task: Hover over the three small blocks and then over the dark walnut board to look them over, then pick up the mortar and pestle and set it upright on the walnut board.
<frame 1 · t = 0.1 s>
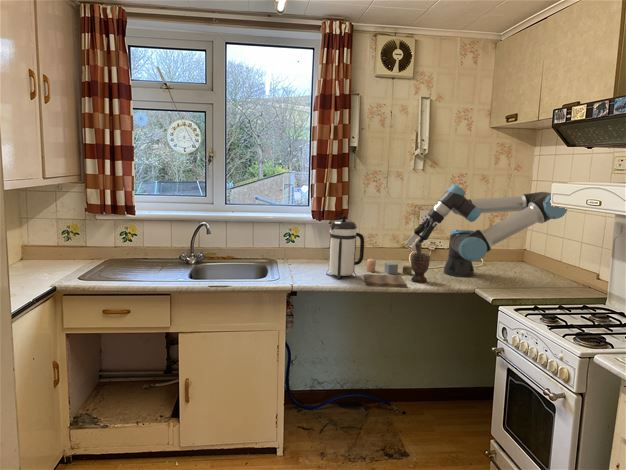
hand: (410, 247, 221), 15 cm above the worktop, tool tilted 35°, fingers open, 13 cm apart
walnut board: (384, 282, 213), on the worktop
dark oak block: (406, 274, 231), on the worktop
mortar and pestle: (419, 282, 216), on the worktop
terracotta capsule: (370, 271, 234), on the worktop
coffee press: (342, 276, 222), on the worktop
slate grey cube: (390, 273, 232), on the worktop
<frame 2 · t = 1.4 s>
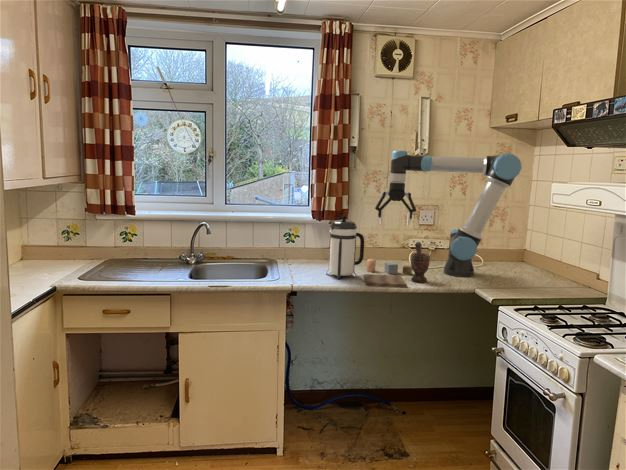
hand: (394, 224, 228), 25 cm above the worktop, tool pointing down, fingers open, 13 cm apart
nothing on the worktop moved.
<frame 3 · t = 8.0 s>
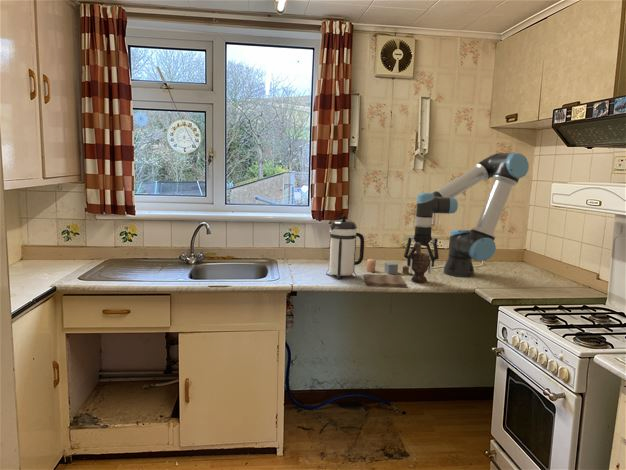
hand: (419, 273, 215), 4 cm above the worktop, tool pointing down, fingers closed on mortar and pestle, 9 cm apart
mortar and pestle: (419, 282, 216), on the worktop, touching gripper
everything else where it was.
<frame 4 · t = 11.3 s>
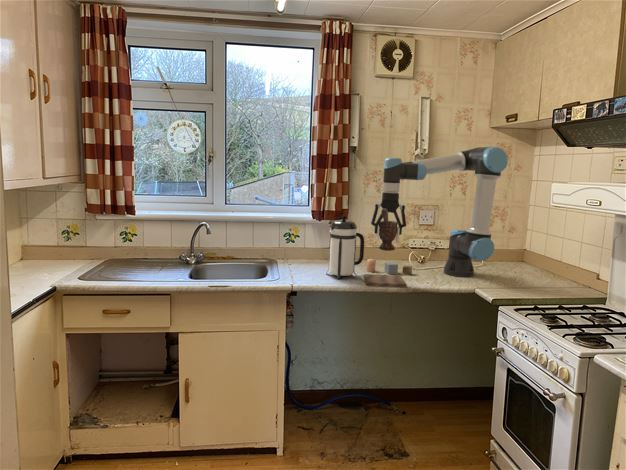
hand: (387, 241, 210), 20 cm above the worktop, tool pointing down, fingers closed on mortar and pestle, 8 cm apart
mortar and pestle: (386, 250, 211), point 15 cm above the worktop, touching gripper
everything else where it was.
when the fingers open (7 cm above the worktop, at t = 14.5 s): mortar and pestle drops 1 cm, resting on walnut board.
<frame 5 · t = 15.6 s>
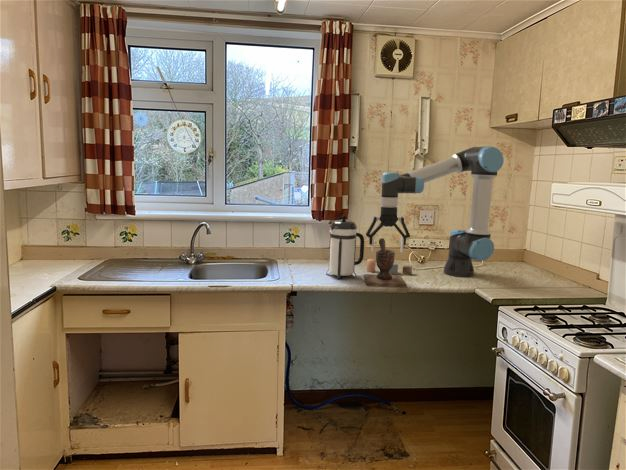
hand: (387, 251, 211), 14 cm above the worktop, tool pointing down, fingers open, 13 cm apart
mortar and pestle: (384, 279, 213), point 1 cm above the worktop, touching walnut board
everything else where it was.
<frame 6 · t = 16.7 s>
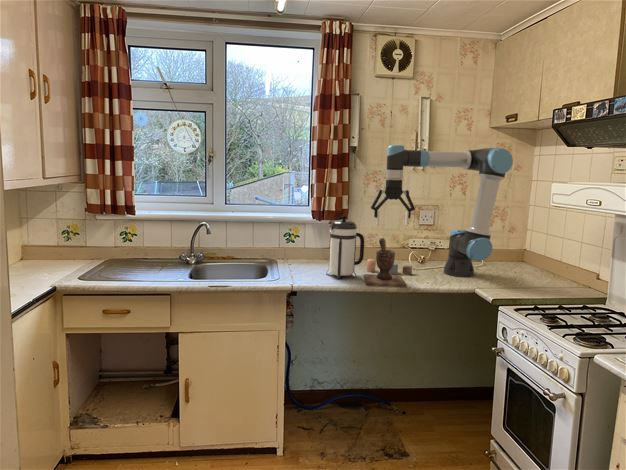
hand: (391, 225, 212), 27 cm above the worktop, tool pointing down, fingers open, 13 cm apart
nothing on the worktop moved.
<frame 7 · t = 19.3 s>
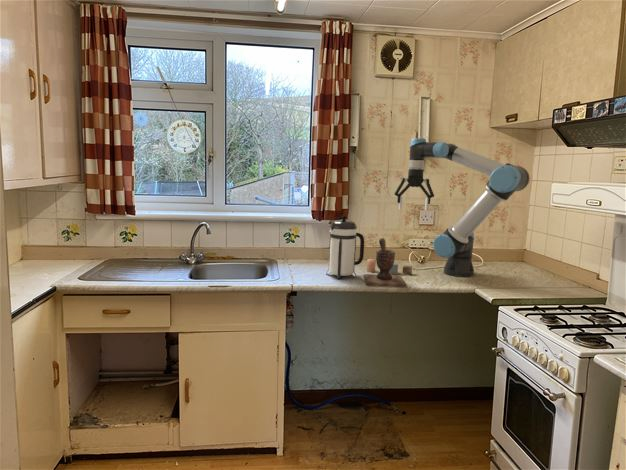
hand: (413, 210, 237), 32 cm above the worktop, tool pointing down, fingers open, 13 cm apart
nothing on the worktop moved.
at the end: mortar and pestle inside the target area on the walnut board (0.1 cm from its centre), point 1.3 cm above the walnut board's base; mortar and pestle tilted 0°; the gripper is holding nothing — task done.
